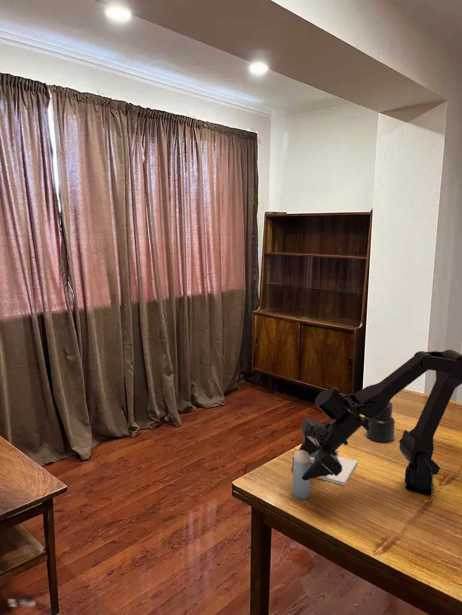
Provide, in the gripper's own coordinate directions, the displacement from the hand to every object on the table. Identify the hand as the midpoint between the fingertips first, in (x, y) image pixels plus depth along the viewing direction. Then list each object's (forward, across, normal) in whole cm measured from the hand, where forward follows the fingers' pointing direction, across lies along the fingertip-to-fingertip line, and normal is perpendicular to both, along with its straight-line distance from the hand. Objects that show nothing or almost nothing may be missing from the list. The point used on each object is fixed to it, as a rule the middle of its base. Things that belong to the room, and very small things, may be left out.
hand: (298, 469), depth 117 cm
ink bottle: (-20, -30, +30) cm, 47 cm away
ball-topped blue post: (+4, 0, +6) cm, 7 cm away
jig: (-3, -12, +13) cm, 18 cm away
